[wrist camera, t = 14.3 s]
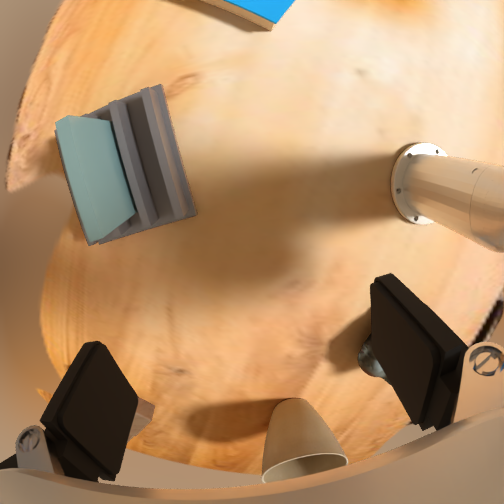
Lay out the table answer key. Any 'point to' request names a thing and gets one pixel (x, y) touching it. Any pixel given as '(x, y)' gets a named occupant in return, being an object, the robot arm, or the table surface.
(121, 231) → the dish rack
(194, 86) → the table surface
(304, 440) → the plant pot
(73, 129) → the thin teal board
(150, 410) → the wooden block set
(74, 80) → the table surface
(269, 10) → the book
